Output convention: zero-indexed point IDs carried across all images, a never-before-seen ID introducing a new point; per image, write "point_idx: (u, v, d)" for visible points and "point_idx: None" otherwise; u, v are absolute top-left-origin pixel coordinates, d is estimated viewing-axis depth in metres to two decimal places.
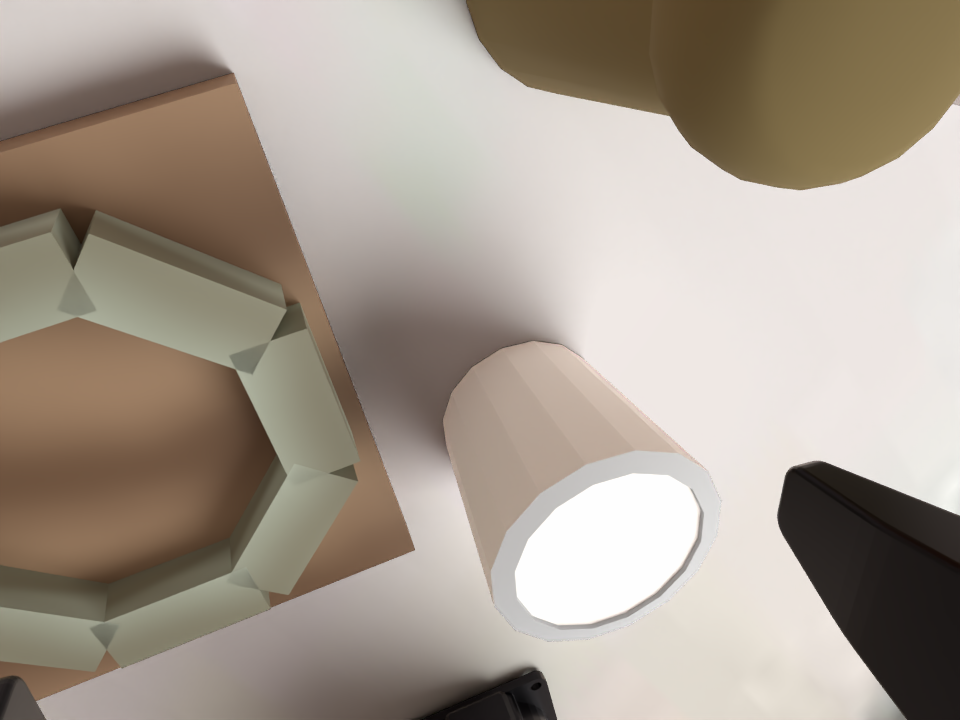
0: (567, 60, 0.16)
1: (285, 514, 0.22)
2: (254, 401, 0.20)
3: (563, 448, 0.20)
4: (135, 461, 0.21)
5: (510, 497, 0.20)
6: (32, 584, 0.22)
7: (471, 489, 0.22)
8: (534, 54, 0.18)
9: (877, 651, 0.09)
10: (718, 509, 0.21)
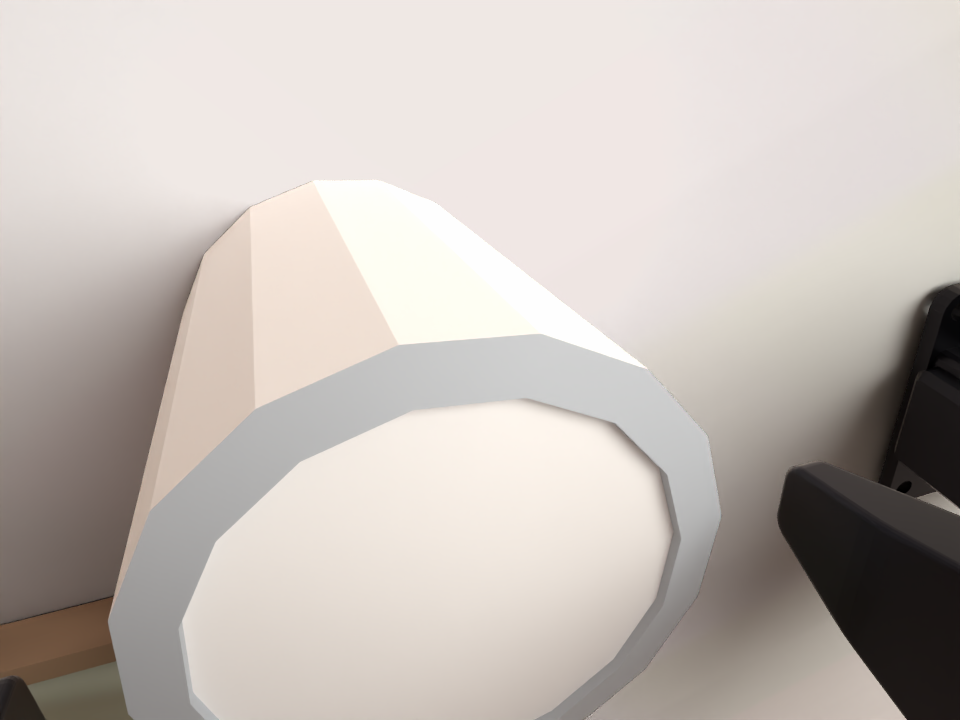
0: None
1: None
2: None
3: None
4: None
5: None
6: None
7: None
8: None
9: (877, 651, 0.09)
10: (431, 350, 0.07)
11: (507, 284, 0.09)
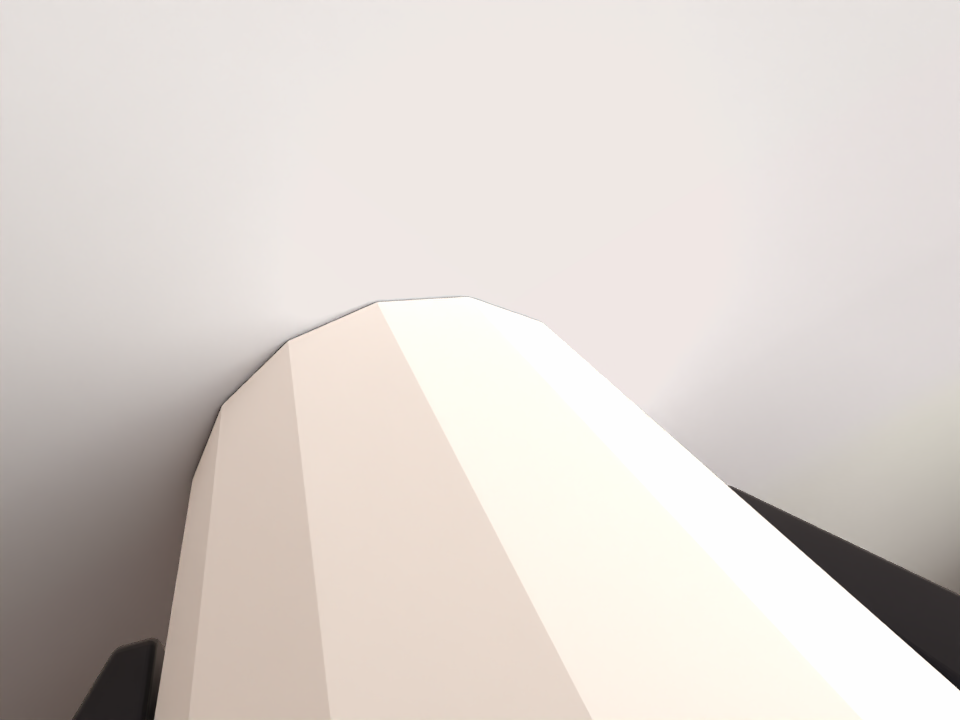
0: None
1: None
2: None
3: None
4: None
5: None
6: None
7: None
8: None
9: None
10: None
11: (766, 578, 0.05)
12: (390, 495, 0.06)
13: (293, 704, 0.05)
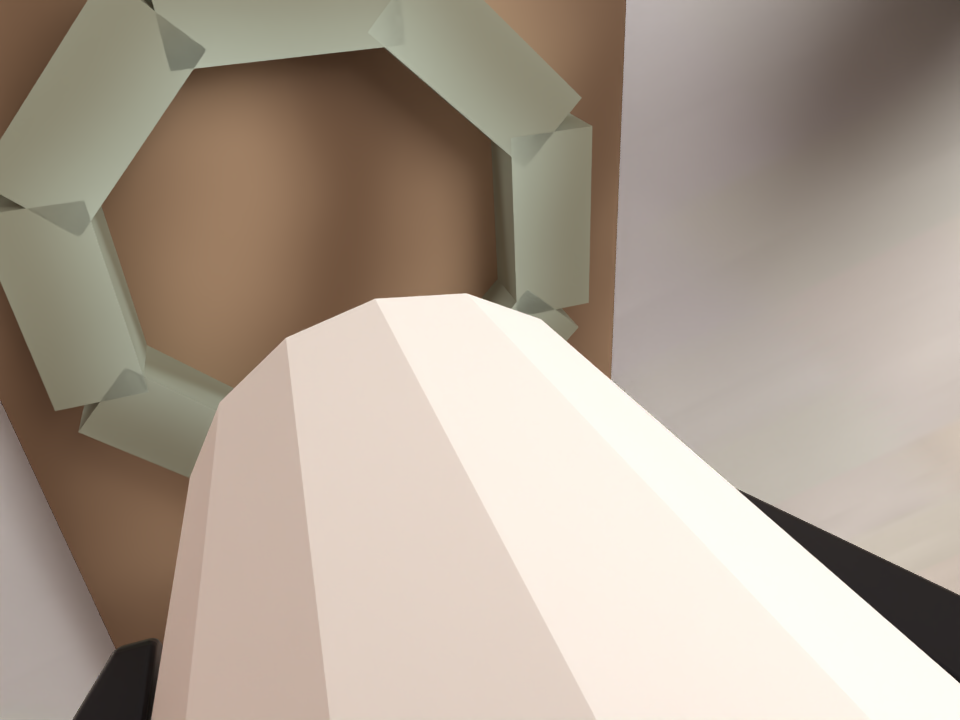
0: None
1: (448, 66, 0.16)
2: (250, 58, 0.15)
3: None
4: (343, 210, 0.19)
5: None
6: None
7: None
8: None
9: None
10: None
11: (768, 573, 0.05)
12: (389, 491, 0.06)
13: (292, 701, 0.05)
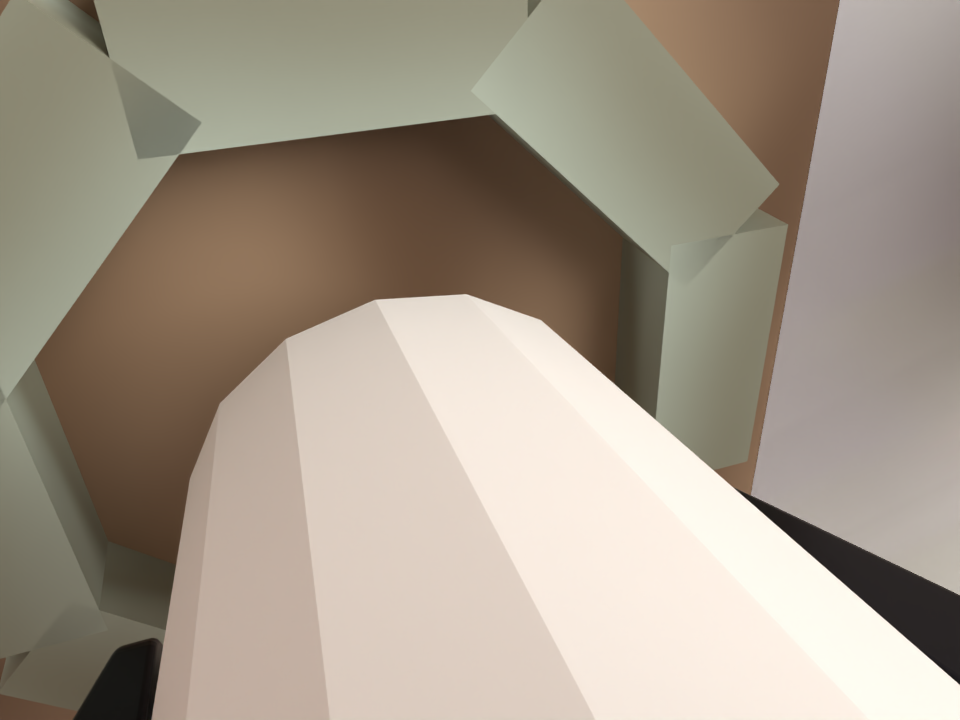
0: None
1: (590, 142, 0.10)
2: (276, 135, 0.09)
3: None
4: None
5: None
6: None
7: None
8: None
9: None
10: None
11: (768, 575, 0.05)
12: (389, 492, 0.06)
13: (292, 702, 0.05)
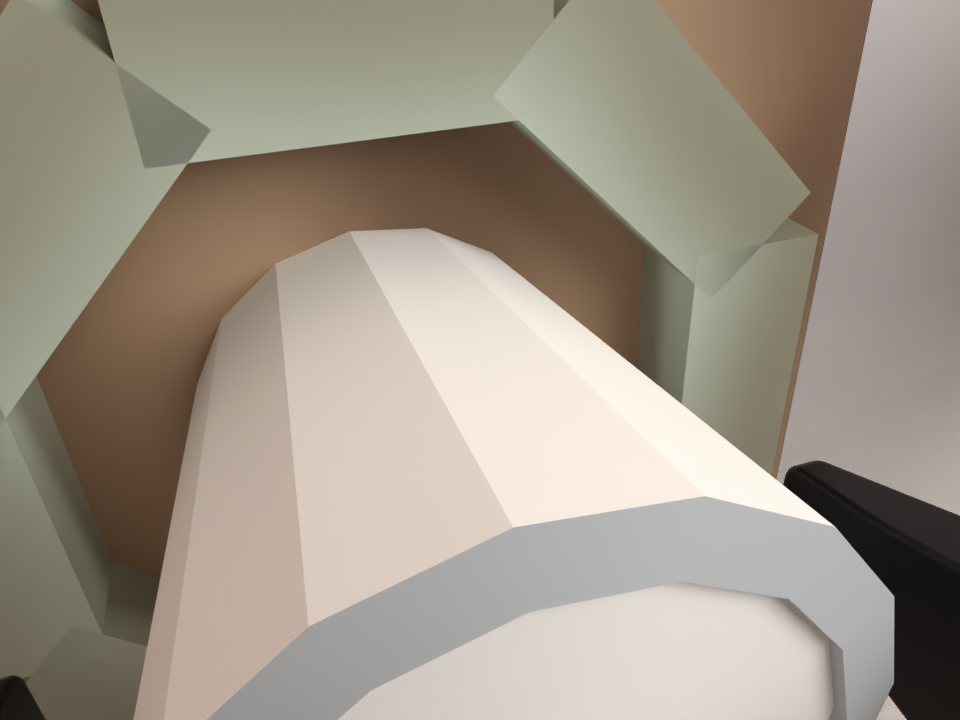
0: None
1: (616, 150, 0.10)
2: (289, 143, 0.08)
3: None
4: None
5: None
6: None
7: None
8: None
9: None
10: (557, 530, 0.05)
11: (621, 391, 0.07)
12: (347, 348, 0.08)
13: (269, 473, 0.06)
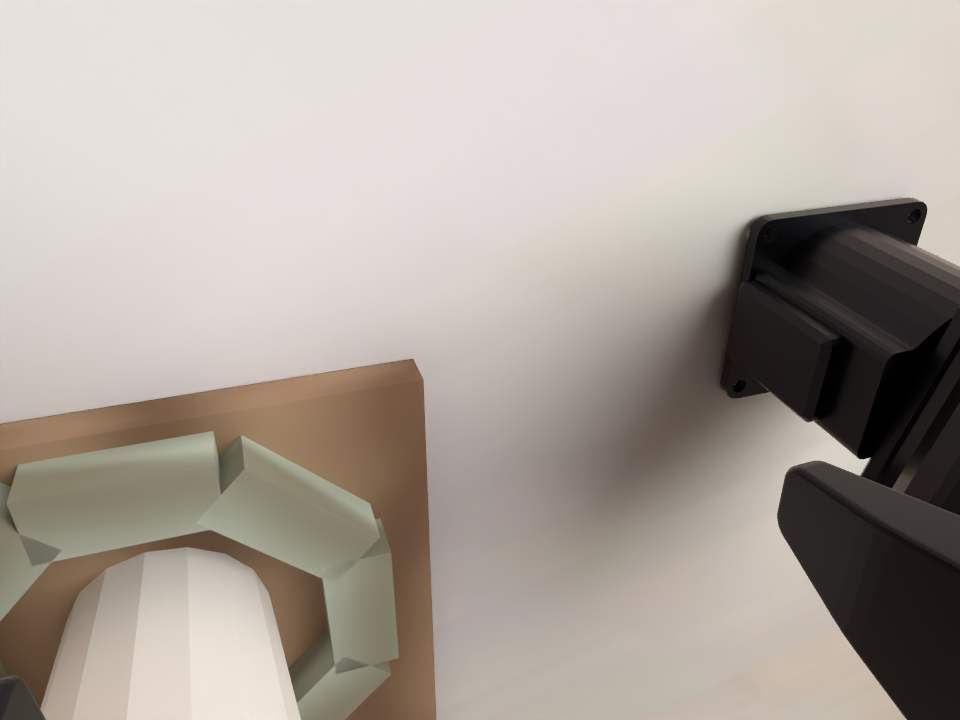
0: None
1: (264, 533, 0.20)
2: (98, 550, 0.19)
3: None
4: None
5: None
6: None
7: None
8: None
9: (877, 651, 0.09)
10: None
11: (208, 687, 0.18)
12: (111, 655, 0.18)
13: None
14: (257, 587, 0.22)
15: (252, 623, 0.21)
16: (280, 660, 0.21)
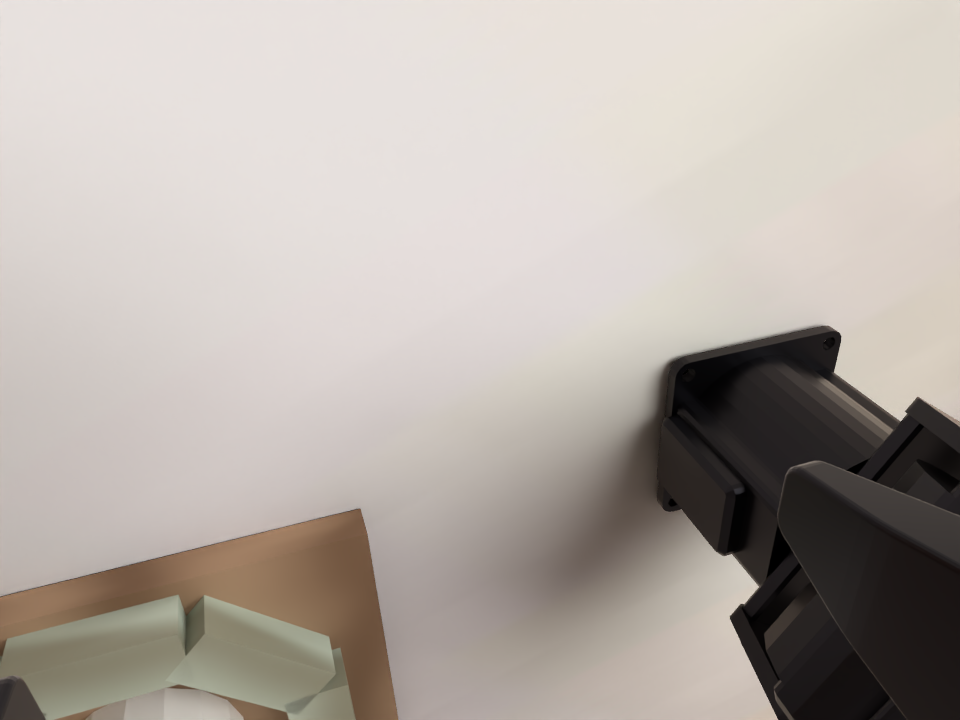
0: None
1: (228, 682, 0.23)
2: (80, 710, 0.22)
3: None
4: None
5: None
6: None
7: None
8: None
9: (877, 651, 0.09)
10: None
11: None
12: None
13: None
14: (229, 719, 0.25)
15: None
16: None
